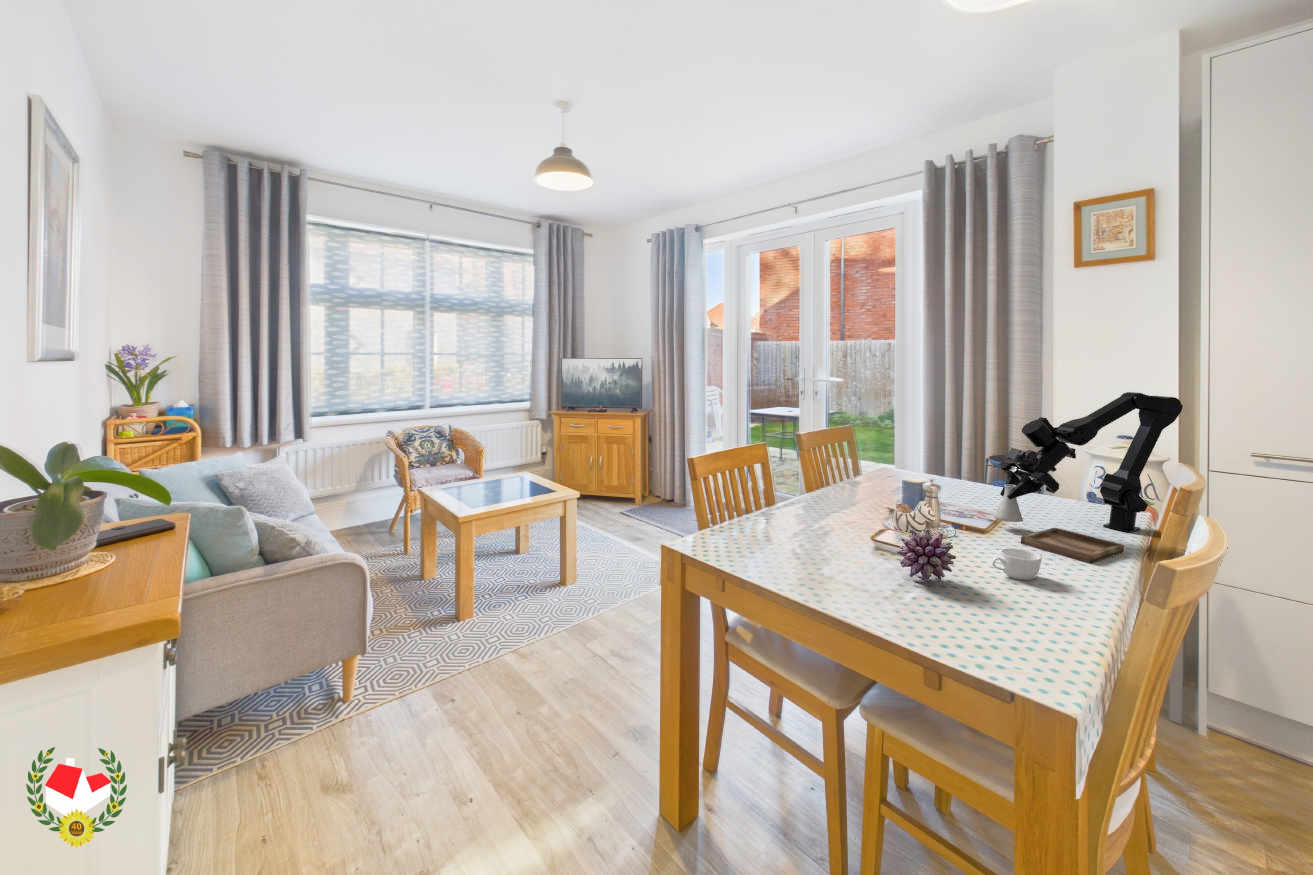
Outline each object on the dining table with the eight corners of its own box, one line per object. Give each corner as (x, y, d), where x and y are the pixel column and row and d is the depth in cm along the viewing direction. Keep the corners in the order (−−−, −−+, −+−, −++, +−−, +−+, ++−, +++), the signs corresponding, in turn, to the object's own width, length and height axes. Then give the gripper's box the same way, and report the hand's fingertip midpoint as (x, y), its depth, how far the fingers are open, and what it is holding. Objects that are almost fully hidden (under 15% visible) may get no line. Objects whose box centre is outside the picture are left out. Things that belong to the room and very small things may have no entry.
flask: (1014, 515, 159) (1017, 482, 158) (1028, 523, 152) (1031, 488, 151) (988, 515, 160) (991, 482, 159) (1001, 522, 153) (1004, 488, 152)
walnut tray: (1054, 534, 152) (1054, 527, 152) (1123, 552, 138) (1124, 545, 137) (1020, 543, 145) (1021, 536, 144) (1089, 563, 131) (1090, 555, 130)
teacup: (1024, 569, 127) (1027, 547, 126) (1047, 583, 119) (1050, 560, 119) (981, 569, 127) (983, 547, 126) (1001, 583, 120) (1003, 560, 119)
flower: (891, 567, 129) (894, 519, 127) (947, 573, 125) (951, 523, 123) (898, 587, 118) (902, 534, 116) (959, 594, 114) (964, 539, 112)
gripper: (1007, 434, 162) (967, 470, 164) (1052, 444, 143) (1007, 485, 145) (1031, 459, 163) (991, 495, 165) (1079, 472, 145) (1034, 513, 146)
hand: (1004, 496), depth 155 cm, fingers closed on flask, 3 cm apart
